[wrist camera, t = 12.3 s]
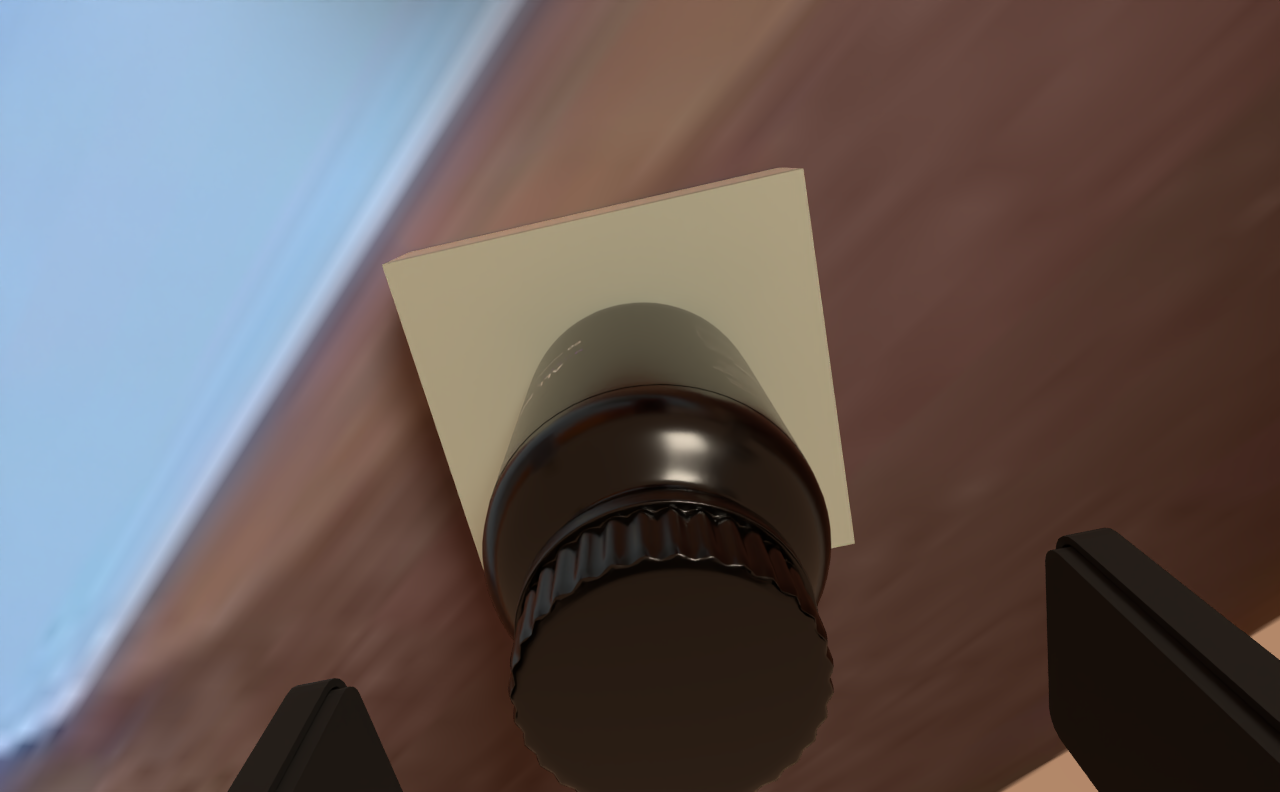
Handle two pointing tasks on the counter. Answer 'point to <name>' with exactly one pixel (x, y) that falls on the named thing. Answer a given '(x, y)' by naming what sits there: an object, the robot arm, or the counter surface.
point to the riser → (612, 275)
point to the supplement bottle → (658, 563)
